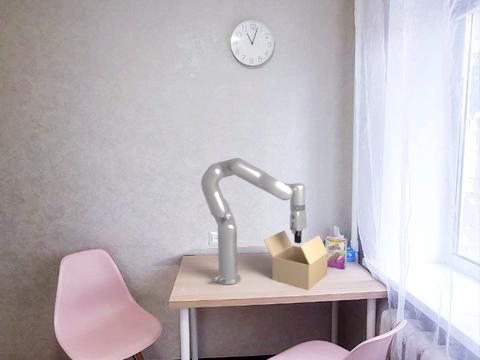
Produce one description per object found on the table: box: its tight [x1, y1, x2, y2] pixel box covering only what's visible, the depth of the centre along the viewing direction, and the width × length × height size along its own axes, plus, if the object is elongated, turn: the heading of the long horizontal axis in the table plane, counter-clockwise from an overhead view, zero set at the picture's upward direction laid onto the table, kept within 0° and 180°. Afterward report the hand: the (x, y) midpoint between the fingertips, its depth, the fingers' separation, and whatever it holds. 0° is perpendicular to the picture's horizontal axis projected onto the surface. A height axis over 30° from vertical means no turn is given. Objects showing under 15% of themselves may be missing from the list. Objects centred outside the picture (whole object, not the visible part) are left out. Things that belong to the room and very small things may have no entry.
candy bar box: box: [324, 235, 348, 270], centre depth 173 cm, size 11×5×16 cm, turn 59°
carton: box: [271, 245, 328, 291], centre depth 160 cm, size 22×20×12 cm
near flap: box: [299, 235, 328, 265], centre depth 155 cm, size 21×10×1 cm
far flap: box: [263, 230, 294, 257], centre depth 167 cm, size 21×10×1 cm
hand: (297, 242), depth 160 cm, fingers closed
